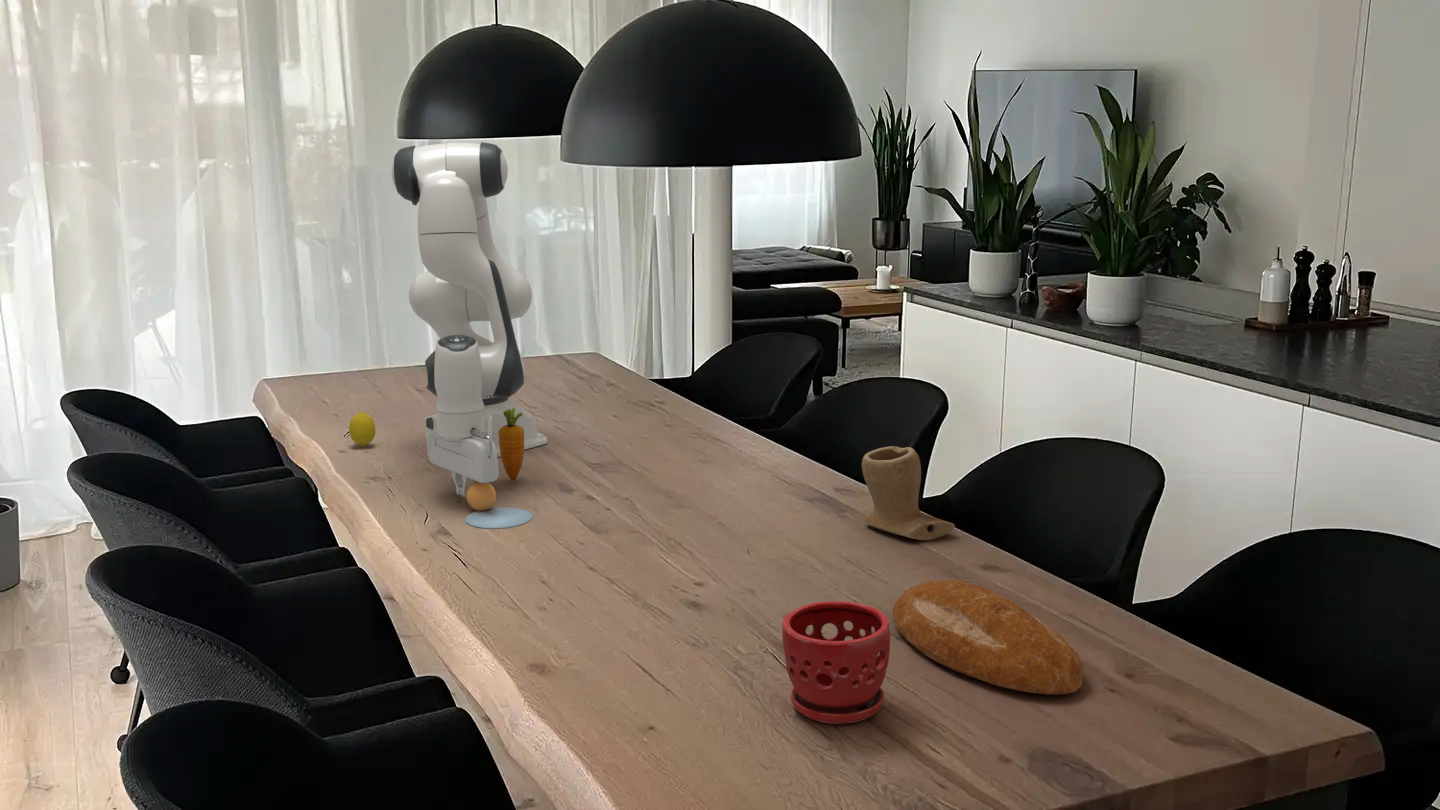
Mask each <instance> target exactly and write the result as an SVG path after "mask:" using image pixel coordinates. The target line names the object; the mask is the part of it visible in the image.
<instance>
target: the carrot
mask: <svg viewBox="0 0 1440 810" xmlns="http://www.w3.org/2000/svg"><path fill="white" fill-rule="evenodd" d="M503 414H504V416H505V418H506V420H507V425H505V426H503V427H501V428H500V429H499V445H500V453H501V456H500V457H501V462H502V465H503V468H504V470H505V472H506V475H507V476H508V478H509V480H510V481H511V482H515V481H516V480H517V478H518V476H519V474H520V471H521V468H522V466H523V460H524V455H525V454H524V452H525V450H524V430H523V428H522V427H520V426H518V425H515V423H516V421H517V419H518V418H519V417H520V416H522V415H523V413H522V412H520V413H518V414H517V415H516V417H514V415H515V408H512V411H511V410H510V409H508V410H507V411H504V412H503Z"/></svg>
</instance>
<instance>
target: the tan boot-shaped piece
mask: <svg viewBox="0 0 1440 810" xmlns="http://www.w3.org/2000/svg"><path fill="white" fill-rule="evenodd" d="M861 460H862V461H861V469H862V471H861V472H862V475H863V478H864V479H863V480H864V481H865V484H866V487H867V489H868V491H869V494H870V497H871V499H872V502H873V507H874V509H873V512H871V513H869V514H867V515H865V516H864V519H863V521H864V522H865V524H867V525H868V526H870V527H873V528H875V529H878V530H882V531H885V532H887V533H891V534H894V535H897V536H900V537H904V538H909V539H914V540H918V541H932V540H935V539H938V538H942V537H943V536H946V535H947V534H950V533H951V532H952V531H954V530H955V528H956V526H955V524H954V523H953V522H949V521H946V520H943V519H941V518H938V517H935V516H932V515H929V514H926V513H924V512H922V511H920V508H919V495H920V490H921V489H920V488H921V481H922V466H921V460H920V456H919V454H918V453H917V452H916V450H915V449H914V448H912V447H911V446H910V447H908V446H907V447H899V446H893V445H892V446H891V445H890V446H884V447H879V448H877V449H874V450H871V451H868V452H867V453H865V454H864V455H863V458H862V459H861Z"/></svg>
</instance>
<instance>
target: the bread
mask: <svg viewBox="0 0 1440 810" xmlns="http://www.w3.org/2000/svg"><path fill="white" fill-rule="evenodd" d="M892 617H893V622H894V624H895V626H896V629H897V630H898V632H899V633H900V634H901V635H902V636H903V637H904V639H905V640H907V642H909V643H910V644H911V645H912V646H914V648H916V649H917V650H918V651H920V652H921V653H922V654H924V655H925V656H926V657H928V658H929V659H931V660H932V661H934V662H936V663H938V664H940V665H941V666H943V667H946V668H948V669H950V670H952V671H954V672H957V673H960V674H962V675H966V676H968V677H970V678H974V679H976V680H980V681H982V682H984V683H988V684H990V685H993V686H995V687H996V686H997V687H1000V688H1005V689H1010V690H1014V691H1019V692H1024V693H1029V694H1040V695H1062V696H1063V695H1068V694H1072V693H1073V694H1074V693H1076V692H1077V691H1078V690H1079V689H1080V688H1081V687H1082V685H1083V663H1082V661H1081V659H1080V657H1079V654H1078V652H1077V651H1075V649H1073V647H1072V646H1071V645H1070V644H1069V643H1068V642H1067V640H1065V638H1063V636H1061V634H1059V633H1058V632H1057V631H1056V630H1054V629H1053V628H1051V627H1050V626H1049V625H1047V624H1046V623H1045V622H1043V621H1041V620H1040V619H1039V618H1038V617H1036V616H1035V615H1033V614H1032V613H1031V612H1028V611H1026V610H1025V609H1024V608H1022V607H1020V606H1019V605H1018V604H1016V603H1015V602H1013V601H1011V600H1010V599H1007V598H1006V597H1004V596H1002V595H1001V594H1000V593H999V594H998V593H996V592H995V591H992V590H991V589H988V588H986V587H984V586H982V585H980V584H979V585H978V584H973V583H968V582H965V581H963V580H948V579H941V580H940V579H939V580H938V579H937V580H928V581H926V582H923V583H919V584H917V585H913V586H912V587H911V586H910V587H909V588H908V589H907V590H905V591H904V592H903V594H901V595H900V597H899V598H897V601H895V603H894V605H893V607H892Z"/></svg>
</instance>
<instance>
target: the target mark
mask: <svg viewBox="0 0 1440 810" xmlns="http://www.w3.org/2000/svg"><path fill="white" fill-rule="evenodd" d="M532 519H533V513H532V512H531V511H529V510H526V509H523V508H522V509H521V508H517V507H502V506H501V507H493V508H492V507H491V508H489V509H487V510H484V511H478V510H476V511H474V512H471V513H469V514H468V515H467V516H466V517H465V519H464V521H465V523H466V524H467V523H468V524H467V525H469V526H470V527H475V528H478V529H487V530H489V529H490V530H491V529H493V530H497V529H499V528H500V529H509V528H514V527H518V526H523V525H525V524H526V523H528V522H530V521H531V520H532Z"/></svg>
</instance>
